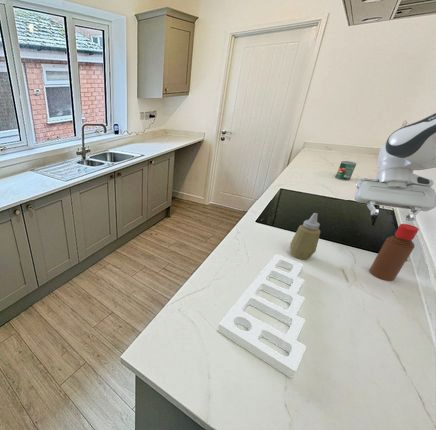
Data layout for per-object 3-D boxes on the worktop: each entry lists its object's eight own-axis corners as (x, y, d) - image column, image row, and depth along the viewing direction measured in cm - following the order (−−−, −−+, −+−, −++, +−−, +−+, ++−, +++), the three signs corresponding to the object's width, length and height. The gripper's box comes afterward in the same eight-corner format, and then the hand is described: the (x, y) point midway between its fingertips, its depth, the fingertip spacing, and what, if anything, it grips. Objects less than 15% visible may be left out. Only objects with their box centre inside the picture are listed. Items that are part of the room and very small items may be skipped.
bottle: (388, 274, 90) (417, 225, 82) (396, 285, 85) (428, 235, 76) (364, 269, 93) (390, 221, 84) (371, 280, 88) (399, 230, 79)
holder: (274, 259, 98) (276, 253, 97) (333, 283, 86) (336, 276, 85) (216, 330, 70) (218, 323, 69) (292, 379, 59) (295, 371, 58)
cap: (409, 235, 82) (415, 225, 81) (415, 241, 79) (421, 231, 78) (392, 232, 84) (397, 222, 82) (397, 238, 81) (403, 228, 79)
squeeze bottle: (290, 259, 98) (306, 217, 90) (284, 247, 105) (299, 207, 97) (315, 263, 96) (333, 220, 88) (308, 251, 103) (324, 210, 94)
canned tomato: (332, 177, 180) (338, 161, 175) (340, 176, 182) (346, 160, 177) (344, 181, 173) (351, 164, 168) (352, 179, 175) (359, 163, 170)
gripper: (361, 173, 94) (358, 208, 90) (440, 181, 86) (440, 220, 82) (352, 181, 99) (349, 214, 96) (426, 189, 91) (425, 226, 88)
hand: (392, 217), depth 89 cm, fingers open, 8 cm apart
